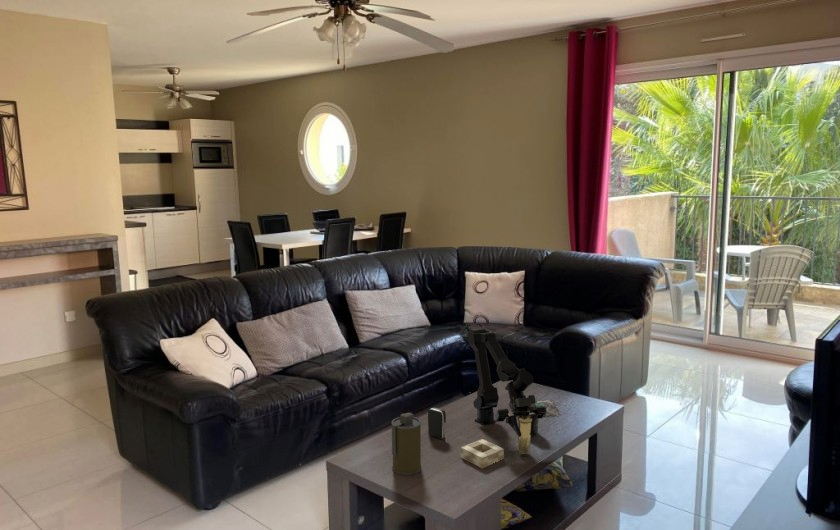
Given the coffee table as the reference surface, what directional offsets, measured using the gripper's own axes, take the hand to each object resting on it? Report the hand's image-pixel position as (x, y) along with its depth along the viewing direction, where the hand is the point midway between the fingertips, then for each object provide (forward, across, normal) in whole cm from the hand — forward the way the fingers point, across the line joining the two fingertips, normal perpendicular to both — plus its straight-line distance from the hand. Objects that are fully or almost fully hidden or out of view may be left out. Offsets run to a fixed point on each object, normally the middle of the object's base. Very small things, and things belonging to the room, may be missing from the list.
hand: (525, 435), depth 225 cm
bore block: (+5, -16, +6) cm, 18 cm away
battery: (-10, -29, +22) cm, 38 cm away
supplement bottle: (-7, +8, +19) cm, 22 cm away
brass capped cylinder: (+4, 0, +6) cm, 7 cm away
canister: (+7, -45, +5) cm, 45 cm away
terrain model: (-23, +19, +36) cm, 46 cm away
